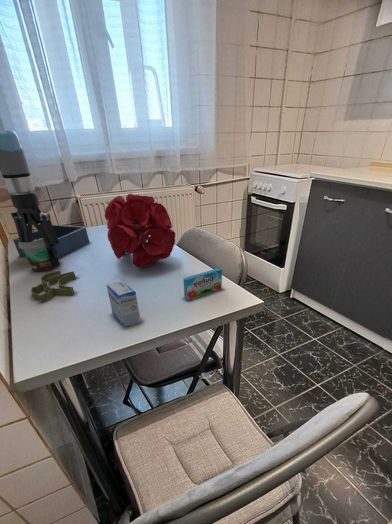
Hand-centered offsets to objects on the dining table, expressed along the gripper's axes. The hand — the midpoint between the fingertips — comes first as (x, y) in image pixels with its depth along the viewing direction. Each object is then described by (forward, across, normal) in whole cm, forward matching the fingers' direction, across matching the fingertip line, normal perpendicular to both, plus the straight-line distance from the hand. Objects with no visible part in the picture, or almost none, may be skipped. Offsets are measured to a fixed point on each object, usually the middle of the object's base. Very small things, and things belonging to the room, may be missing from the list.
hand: (47, 264), depth 104 cm
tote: (+1, +12, -18) cm, 21 cm away
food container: (+1, 0, 0) cm, 1 cm away
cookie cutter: (+1, -14, +13) cm, 19 cm away
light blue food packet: (+1, -60, +5) cm, 60 cm away
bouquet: (+1, -30, -14) cm, 33 cm away
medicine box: (+1, -45, +23) cm, 51 cm away
